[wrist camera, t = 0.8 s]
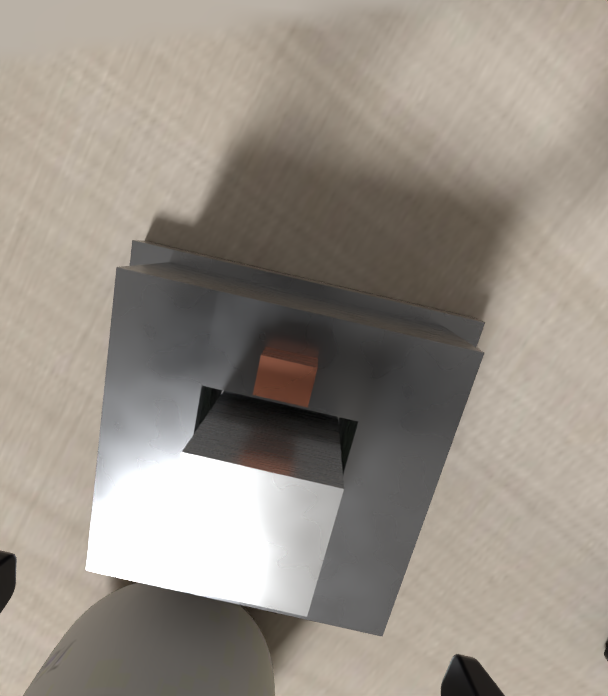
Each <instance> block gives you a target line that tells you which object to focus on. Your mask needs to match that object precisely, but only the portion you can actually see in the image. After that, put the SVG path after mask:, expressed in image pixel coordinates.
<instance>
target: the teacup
mask: <svg viewBox="0 0 608 696" xmlns="http://www.w3.org/2000/svg"><path fill="white" fill-rule="evenodd" d="M23 696H275V685H274V673H273V666H272V660H271V656H270V653H269V649H268V646H267V644H266V641H265V638H264V636H263V634H262V633H261V631H260V629H259V627H258V626H257V624H256V623H255V621H254V620H253V619H252V617H251V616H250V615H249V614H248V613H247V612H246V611H245V610H244V609H243V608H242V607H241V606H240V605H239V604H234V603H230V602H225V601H221V600H217V599H212V598H208V597H203V596H199V595H194V594H190V593H185V592H181V591H176V590H172V589H167V588H163V587H158V586H154V585H149V584H145V583H140V582H139V583H135V584H132V585H129V586H126V587H123V588H121V589H119V590H117V591H114V592H112V593H111V594H109V595H107V596H106V597H104V598H102V599H101V600H99V601H98V602H97V603H95V604H94V605H92V606H91V607H90V608H89V609H88V610H87V611H86V612H85V613H84V614H83V615H82V616H81V617H80V618H79V619H78V620H77V621H76V622H75V623H74V624H73V625H72V626H71V627H70V629H69V630H68V631H67V632H66V634H65V635H64V636H63V638H62V639H61V640H60V642H59V643H58V644H57V646H56V647H55V648H54V650H53V651H52V653H51V654H50V656H49V657H48V659H47V660H46V662H45V663H44V664H43V666H42V667H41V669H40V670H39V672H38V673H37V675H36V676H35V678H34V680H33V681H32V683H31V684H30V686H29V687H28V689H27V690H26V692H25V693H24V695H23Z"/></svg>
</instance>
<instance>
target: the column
mask: <svg viewBox="0 0 608 696" xmlns="http://www.w3.org/2000/svg"><path fill="white" fill-rule="evenodd" d="M339 418H340V417H337V416H332V415H328V414H324V413H319V412H315V411H311V410H306V409H302V408H298V407H293V406H289V405H285V404H280V403H276V402H271V401H267V400H263V399H258V398H254V397H250V396H245V395H241V394H237V393H232V392H228V391H224V390H222V393H221V395H220V397H219V398H218V400H217V401H216V403H215V404H214V406H213V407H212V409H211V410H210V411H209V413H208V414H207V416H206V417H205V419H204V420H203V422H202V423H201V425H200V426H199V427H198V429H197V430H196V432H195V433H194V435H193V436H192V438H191V439H190V441H189V442H188V443H187V445H186V446H185V448H184V449H183V451H182V452H181V459H180V465H179V471H178V477H177V483H176V489H175V495H174V502H173V508H172V514H171V520H170V526H169V532H168V538H167V545H166V551H165V557H164V563H163V569H162V575H161V582H160V584H162V585H167V586H171V587H176V588H180V589H185V590H189V591H194V592H198V593H203V594H207V595H212V596H216V597H221V598H225V599H230V600H234V601H238V602H243V603H247V604H252V605H256V606H261V607H265V608H270V609H274V610H279V611H283V612H288V613H292V614H297V615H301V616H306V617H307V615H308V612H309V608H310V605H311V601H312V598H313V594H314V591H315V587H316V584H317V581H318V577H319V574H320V570H321V567H322V563H323V560H324V556H325V553H326V550H327V546H328V543H329V539H330V536H331V532H332V529H333V525H334V522H335V519H336V515H337V512H338V508H339V505H340V501H341V498H342V494H343V491H344V483H343V471H342V460H341V449H340V438H339V426H338V421H339Z"/></svg>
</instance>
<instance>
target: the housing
mask: <svg viewBox="0 0 608 696" xmlns="http://www.w3.org/2000/svg"><path fill="white" fill-rule="evenodd" d="M484 324H485V322H483V321H480V320H478V319H476V318H473V317H468V316H464V315H460V314H456V313H451V312H447V311H443V310H438V309H434V308H430V307H426V306H421V305H417V304H413V303H408V302H404V301H400V300H396V299H391V298H387V297H383V296H379V295H374V294H370V293H366V292H361V291H357V290H353V289H349V288H344V287H340V286H336V285H331V284H327V283H323V282H319V281H314V280H310V279H306V278H302V277H297V276H293V275H289V274H284V273H280V272H276V271H272V270H267V269H263V268H259V267H254V266H250V265H246V264H242V263H237V262H233V261H229V260H225V259H220V258H216V257H212V256H207V255H203V254H199V253H195V252H190V251H186V250H182V249H177V248H173V247H169V246H165V245H160V244H156V243H152V242H148V241H139V240H132V249H131V259H130V266H124V267H117V269H116V278H115V288H114V298H113V308H112V318H111V328H110V338H109V348H108V358H107V367H106V377H105V387H104V397H103V407H102V417H101V427H100V437H99V447H98V456H97V466H96V476H95V486H94V496H93V506H92V516H91V526H90V535H89V545H88V555H87V565H86V571H91V572H95V573H100V574H104V575H109V576H113V577H118V578H122V579H127V580H131V581H136V582H140V583H145V584H149V585H154V586H158V587H163V588H167V589H172V590H176V591H181V592H185V593H190V594H194V595H199V596H203V597H208V598H212V599H217V600H221V601H225V602H230V603H234V604H239V605H243V606H248V607H252V608H257V609H261V610H266V611H270V612H275V613H279V614H284V615H288V616H293V617H297V618H302V619H306V620H311V621H315V622H320V623H324V624H329V625H333V626H338V627H342V628H347V629H351V630H355V631H360V632H364V633H369V634H373V635H378V636H383V633H384V631H385V628H386V625H387V622H388V619H389V617H390V614H391V611H392V608H393V605H394V603H395V600H396V597H397V594H398V592H399V589H400V586H401V583H402V580H403V578H404V575H405V572H406V569H407V566H408V564H409V561H410V558H411V555H412V553H413V550H414V547H415V544H416V541H417V539H418V536H419V533H420V530H421V528H422V525H423V522H424V519H425V516H426V514H427V511H428V508H429V505H430V502H431V500H432V497H433V494H434V491H435V489H436V486H437V483H438V480H439V477H440V475H441V472H442V469H443V466H444V464H445V461H446V458H447V455H448V452H449V450H450V447H451V444H452V441H453V438H454V436H455V433H456V430H457V427H458V425H459V422H460V419H461V416H462V413H463V411H464V408H465V405H466V402H467V399H468V397H469V394H470V391H471V388H472V386H473V383H474V380H475V377H476V374H477V372H478V369H479V366H480V363H481V361H482V358H483V355H484V352H482V351H481V350H479V349H478V348H476V347H477V344H478V341H479V338H480V335H481V332H482V330H483V327H484ZM222 390H224V391H228V392H232V393H237V394H241V395H245V396H250V397H254V398H258V399H263V400H267V401H271V402H276V403H280V404H285V405H289V406H293V407H298V408H302V409H306V410H311V411H315V412H319V413H324V414H328V415H332V416H337V417H340V418H339V421H338V426H339V438H340V449H341V460H342V471H343V483H344V491H343V494H342V498H341V501H340V505H339V508H338V512H337V515H336V519H335V522H334V525H333V529H332V532H331V536H330V539H329V543H328V546H327V550H326V553H325V556H324V560H323V563H322V567H321V570H320V574H319V577H318V581H317V584H316V587H315V591H314V594H313V598H312V601H311V605H310V608H309V612H308V615H307V617H306V616H301V615H297V614H292V613H288V612H283V611H279V610H274V609H270V608H265V607H261V606H256V605H252V604H247V603H243V602H238V601H234V600H230V599H225V598H221V597H216V596H212V595H207V594H203V593H198V592H194V591H189V590H185V589H180V588H176V587H171V586H167V585H162V584H160V582H161V575H162V569H163V563H164V557H165V551H166V545H167V538H168V532H169V526H170V520H171V514H172V508H173V502H174V495H175V489H176V483H177V477H178V471H179V465H180V459H181V452H182V451H183V449H184V448H185V446H186V445H187V443H188V442H189V441H190V439H191V438H192V436H193V435H194V433H195V432H196V430H197V429H198V427H199V426H200V425H201V423H202V422H203V420H204V419H205V417H206V416H207V414H208V413H209V411H210V410H211V409H212V407H213V406H214V404H215V403H216V401H217V400H218V398H219V397H220V395H221V393H222Z"/></svg>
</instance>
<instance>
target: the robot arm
mask: <svg viewBox="0 0 608 696" xmlns="http://www.w3.org/2000/svg"><path fill="white" fill-rule="evenodd" d="M16 563H17V559H16V556H15V554H13V553H9V552H5V551H0V613H1V612H2V610H3V609H4V607H5V606H6V604H7V603H8V601H9V600H10V598H11V596H12V594H13V592H14V589H15V585H16ZM604 656H605V658H606V659H607V661H608V646H607V648H606V649H605V652H604ZM441 696H505V695H504V694H503V693H502V691H501V690H500V689H499V687H498V686H497V685H496V683H495V682H494V681H493V680H492V678H491V677H490V676H489V674H488V673H487V672H486V671H485V669H484V668H483V667H482V665H481V664H480V663H479V662H478V661H477V660H476V659H475V658H473V657H469V656H464V655H460V654H456V655H454V656H453V658H452V659H451V662H450V664H449V667H448V669H447V671H446V674H445V676H444V678H443V681H442V685H441Z"/></svg>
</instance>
